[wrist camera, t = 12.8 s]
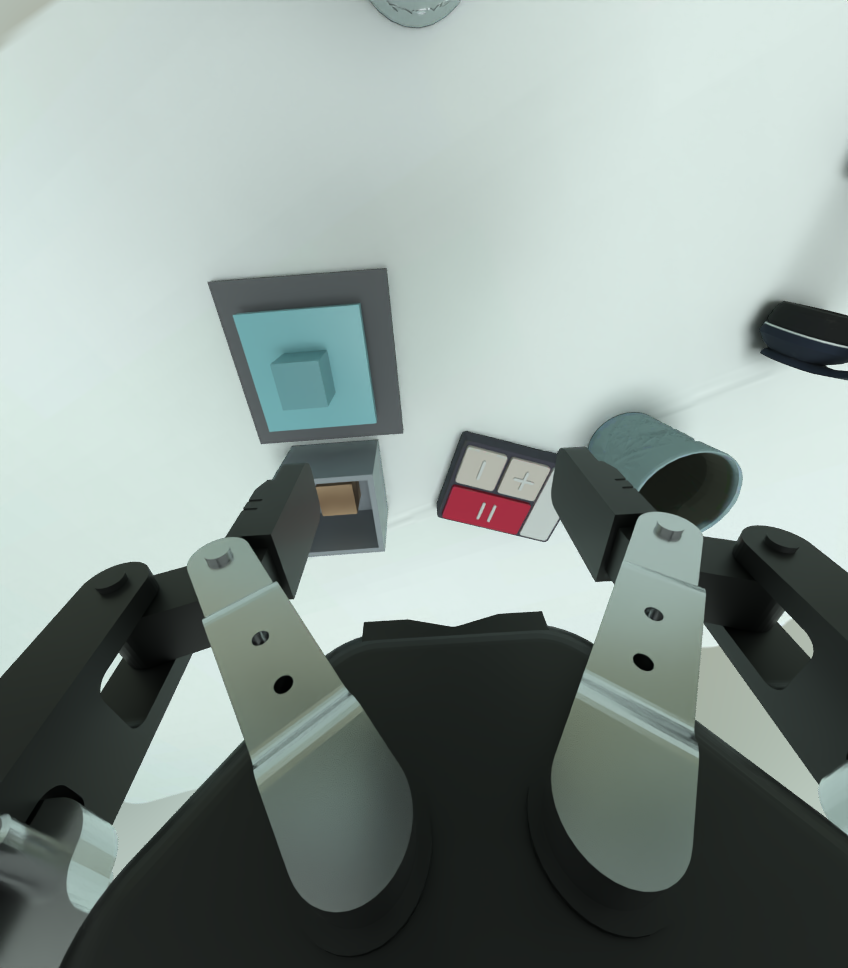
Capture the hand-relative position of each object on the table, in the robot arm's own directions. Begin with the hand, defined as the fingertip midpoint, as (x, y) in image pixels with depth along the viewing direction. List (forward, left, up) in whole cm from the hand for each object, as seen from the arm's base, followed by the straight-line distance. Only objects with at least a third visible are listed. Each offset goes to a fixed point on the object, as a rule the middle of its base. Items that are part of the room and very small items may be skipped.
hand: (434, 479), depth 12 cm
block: (+17, -10, -28) cm, 34 cm away
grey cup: (+15, +24, -29) cm, 40 cm away
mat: (+3, -10, -29) cm, 31 cm away
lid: (+3, -10, -28) cm, 30 cm away
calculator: (+19, +10, -30) cm, 36 cm away
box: (+17, -10, -29) cm, 35 cm away
